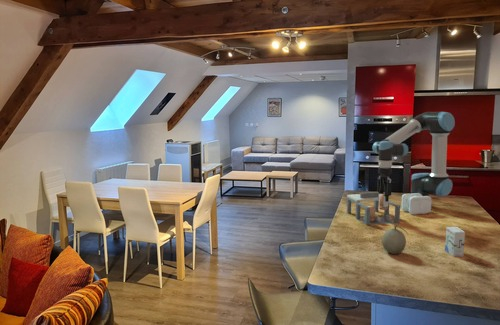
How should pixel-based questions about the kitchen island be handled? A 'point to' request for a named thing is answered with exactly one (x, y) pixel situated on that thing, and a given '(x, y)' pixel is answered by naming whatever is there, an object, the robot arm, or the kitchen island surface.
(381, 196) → the pink rounded capsule
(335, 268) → the kitchen island surface
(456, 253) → the ink box
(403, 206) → the cable organizer
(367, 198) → the lid
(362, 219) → the housing
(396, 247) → the fruit
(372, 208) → the seated rounded capsule
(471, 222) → the kitchen island surface
